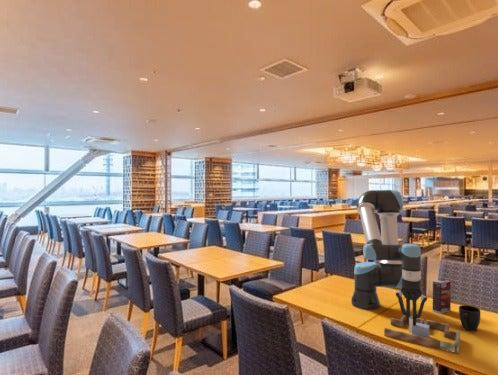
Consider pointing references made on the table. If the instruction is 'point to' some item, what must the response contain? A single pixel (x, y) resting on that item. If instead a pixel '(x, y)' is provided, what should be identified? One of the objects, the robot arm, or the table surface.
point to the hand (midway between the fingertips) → (411, 331)
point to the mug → (469, 317)
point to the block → (421, 330)
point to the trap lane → (425, 340)
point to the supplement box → (441, 296)
